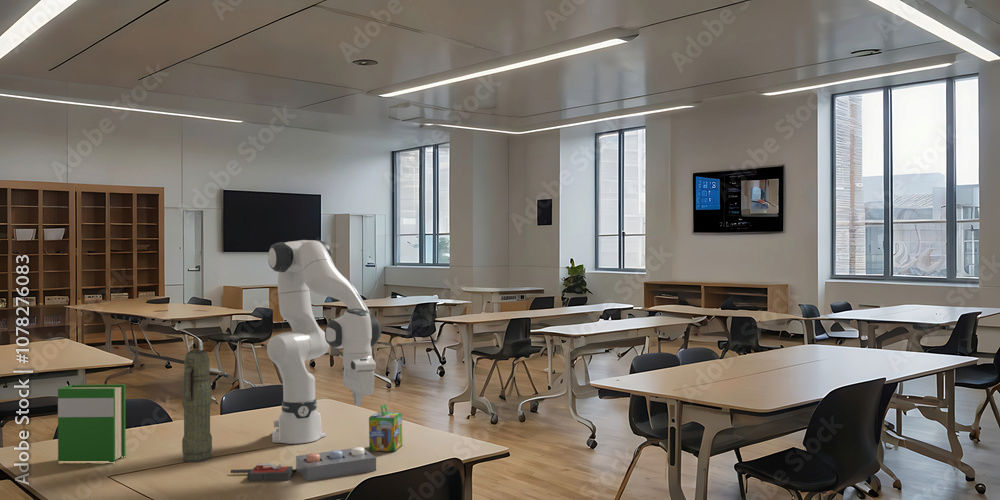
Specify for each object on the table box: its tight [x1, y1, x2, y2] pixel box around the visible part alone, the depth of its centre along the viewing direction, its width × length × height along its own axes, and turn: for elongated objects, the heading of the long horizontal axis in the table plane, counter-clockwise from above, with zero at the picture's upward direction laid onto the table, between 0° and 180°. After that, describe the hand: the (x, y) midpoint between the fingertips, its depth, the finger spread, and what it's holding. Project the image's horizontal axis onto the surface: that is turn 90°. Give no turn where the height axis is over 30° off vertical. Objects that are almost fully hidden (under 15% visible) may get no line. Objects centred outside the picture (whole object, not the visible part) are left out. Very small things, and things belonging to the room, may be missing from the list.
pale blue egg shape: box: [328, 449, 343, 460], centre depth 224 cm, size 4×4×3 cm
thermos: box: [181, 349, 213, 463], centre depth 237 cm, size 9×12×35 cm
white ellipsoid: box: [350, 446, 365, 457], centre depth 227 cm, size 4×4×3 cm
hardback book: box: [57, 383, 127, 462], centre depth 235 cm, size 18×7×24 cm, turn 90°
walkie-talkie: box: [229, 462, 298, 483], centre depth 217 cm, size 9×4×20 cm
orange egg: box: [305, 452, 320, 463], centre depth 220 cm, size 4×4×3 cm
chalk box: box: [368, 403, 403, 453], centre depth 248 cm, size 9×9×15 cm
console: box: [295, 447, 377, 482], centre depth 224 cm, size 14×21×4 cm, turn 119°
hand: (357, 405), depth 227 cm, fingers closed
